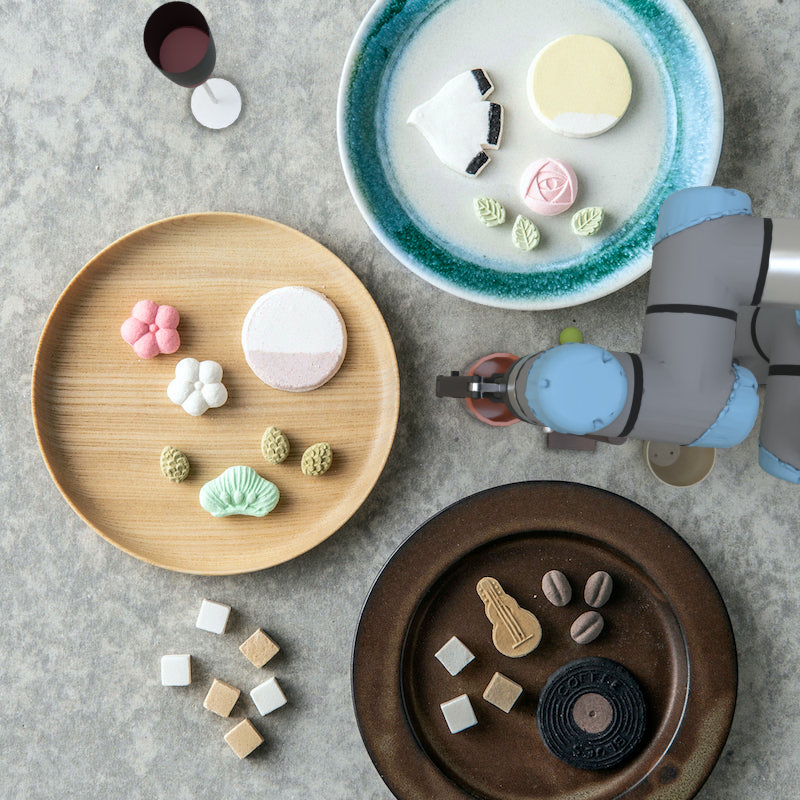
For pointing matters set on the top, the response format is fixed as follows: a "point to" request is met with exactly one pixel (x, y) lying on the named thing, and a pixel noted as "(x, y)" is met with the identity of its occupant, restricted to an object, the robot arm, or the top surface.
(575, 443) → the stand
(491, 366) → the pink bowl
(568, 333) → the green grape
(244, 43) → the top surface
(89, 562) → the top surface
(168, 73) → the wineglass
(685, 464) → the flower pot
